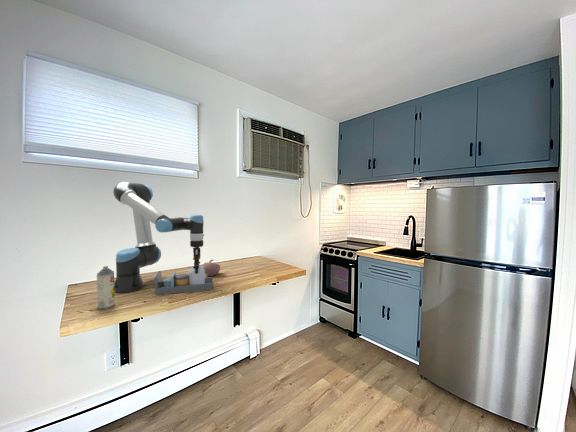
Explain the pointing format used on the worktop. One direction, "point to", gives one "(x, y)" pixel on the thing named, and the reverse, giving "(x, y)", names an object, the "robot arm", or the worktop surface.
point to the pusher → (170, 281)
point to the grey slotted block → (178, 289)
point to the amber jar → (181, 279)
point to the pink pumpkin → (211, 268)
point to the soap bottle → (201, 275)
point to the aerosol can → (105, 288)
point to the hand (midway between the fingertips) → (196, 276)
